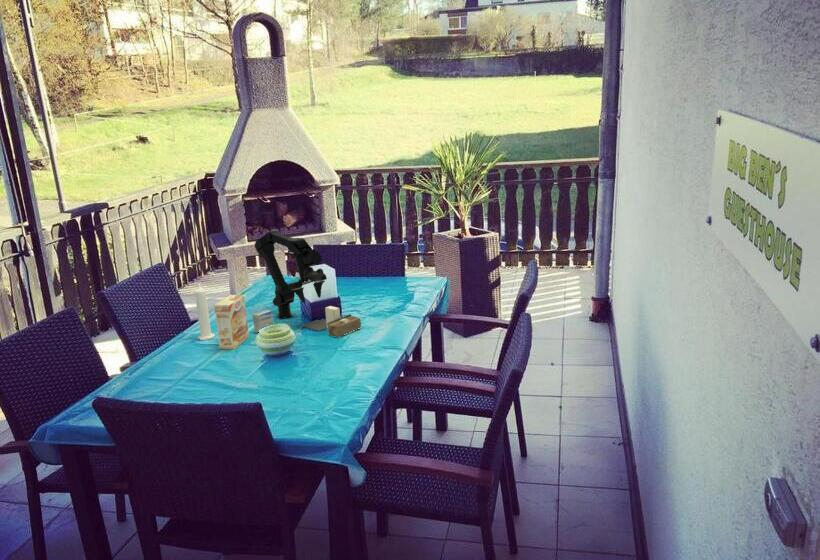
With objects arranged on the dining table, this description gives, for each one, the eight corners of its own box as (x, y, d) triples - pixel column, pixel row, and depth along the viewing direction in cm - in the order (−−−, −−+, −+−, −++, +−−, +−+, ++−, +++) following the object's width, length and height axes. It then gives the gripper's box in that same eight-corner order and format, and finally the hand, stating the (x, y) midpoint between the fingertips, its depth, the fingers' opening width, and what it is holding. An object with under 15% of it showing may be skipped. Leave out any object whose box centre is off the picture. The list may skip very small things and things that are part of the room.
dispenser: (328, 335, 291) (327, 323, 290) (350, 326, 302) (350, 314, 300) (338, 338, 287) (337, 325, 286) (361, 328, 298) (360, 316, 296)
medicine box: (260, 334, 297) (258, 315, 295) (254, 332, 300) (252, 314, 297) (274, 328, 303) (272, 310, 301) (267, 327, 306) (265, 309, 303)
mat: (301, 326, 304) (301, 325, 304) (320, 319, 312) (320, 318, 312) (319, 331, 296) (319, 330, 296) (338, 324, 305) (338, 322, 305)
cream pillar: (326, 328, 299) (325, 307, 297) (331, 326, 302) (330, 305, 299) (336, 331, 296) (334, 309, 293) (341, 329, 298) (339, 308, 295)
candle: (194, 339, 295) (186, 284, 288) (206, 333, 301) (198, 280, 294) (206, 341, 292) (199, 286, 285) (218, 335, 298) (210, 281, 291)
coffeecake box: (234, 349, 280) (229, 305, 275) (219, 349, 282) (213, 305, 276) (249, 336, 294) (244, 294, 289) (234, 336, 296) (229, 294, 290)
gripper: (298, 269, 289) (307, 304, 291) (330, 260, 303) (338, 293, 305) (283, 272, 297) (291, 305, 299) (314, 262, 311) (322, 295, 312)
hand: (312, 300), depth 303 cm, fingers open, 9 cm apart
